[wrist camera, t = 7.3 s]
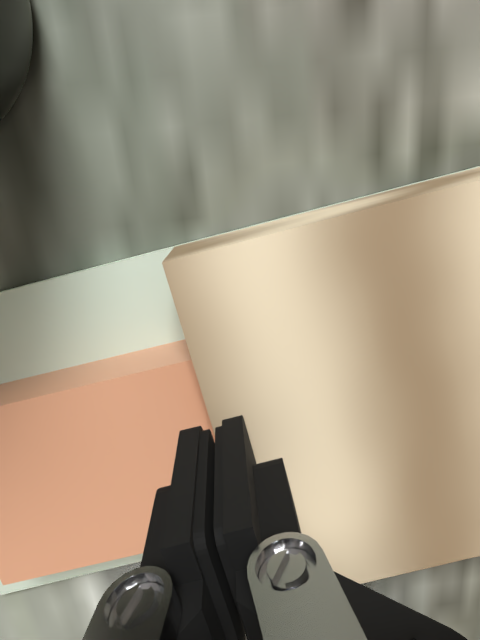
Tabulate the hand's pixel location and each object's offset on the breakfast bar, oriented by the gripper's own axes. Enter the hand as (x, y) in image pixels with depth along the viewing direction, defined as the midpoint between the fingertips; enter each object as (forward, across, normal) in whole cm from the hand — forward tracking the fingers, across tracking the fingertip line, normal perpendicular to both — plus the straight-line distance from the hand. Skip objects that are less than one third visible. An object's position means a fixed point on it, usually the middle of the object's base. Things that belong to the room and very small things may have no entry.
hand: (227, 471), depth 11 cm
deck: (+4, -6, 0) cm, 7 cm away
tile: (+4, +4, 0) cm, 6 cm away
